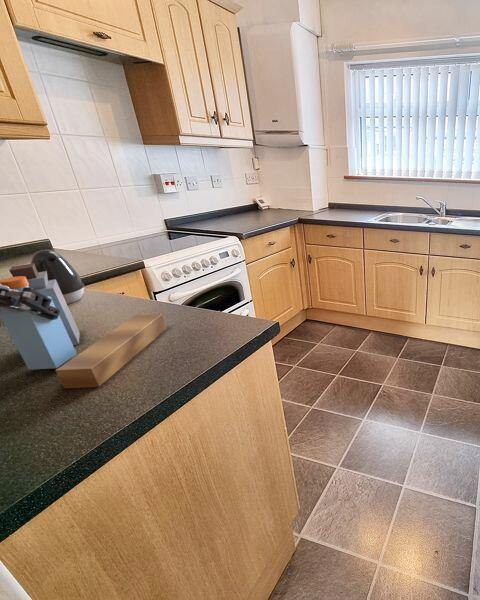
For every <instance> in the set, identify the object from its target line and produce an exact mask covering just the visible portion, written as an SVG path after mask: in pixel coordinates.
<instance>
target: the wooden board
mask: <svg viewBox="0 0 480 600" xmlns="http://www.w3.org/2000/svg"><path fill="white" fill-rule="evenodd" d="M167 329H168V328H167V326H166V323H165V319H164V316H163V314H161V313H160V314H159V313H154V314H152V313H151V314H135V315H134V316H132V317H130V318H129V319H128V320H126V321H125V322H123V323H122V324H120V325H119V326H117V327H116V328H115V329H113V330H112V331H110V332H109V333H107V334H106V335H104V336H103V337H102V338H100V339H99V340H97V341H96V342H94V343H93V344H91V345H90V346H88V347H87V348H85V349H84V350H83V351H81V352H80V353H78V354H77V355H75V356H74V357H72V358H71V359H69V360H68V361H66V362H65V363H63V364H62V365H60V366H59V367H58V368H56V369H55V373H56V375H57V376H58V379H59V381H60V383H61V385H62V386H63V388H64V389H81V388H100V387H102V385H103V384H105V382H107V381H108V380H109V379H110V378H111V377H112V376H114V375H115V374H116V373H117V372H118V371H119V370H120V369H122V368H123V367H124V366H125V365H126V364H128V363H130V361H131V360H132V359H133V358H135V357H136V356H137V355H138V354H139V353H140V352H141V351H143V350H144V349H145V348H146V347H148V345H150V344H151V343H152V342H153V341H154V340H155V339H157V338H158V337H159V336H160V335H161V334H163V333H164V332H165V331H166V330H167Z"/></svg>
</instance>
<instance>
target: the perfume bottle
mask: <svg viewBox="0 0 480 600" xmlns="http://www.w3.org/2000/svg"><path fill="white" fill-rule="evenodd" d="M8 271H9V273H10V274H11V276H10V277H9V278H11V277H17V276H25V277H26V279H27V281H28V283H29V285H28V286H29V288H32V289H34V290H36V291H38V292H39V293H41V294H43V295H45V296H47V297H49V296H50V297H51V299H52V301H53V303H54V305H55V307H56V308H58V309H59V310H60V313H59V316H60V318H61V320H62V323H63V325H64V327H65V329H66V331H67V334H68V336H69V338H70V340H71V342H72V344H73V346H77V345H80V335H81V332H80V330H79V328H78V326H77V323H76V322H75V319H74V317H73V315H72V312H71V310H70V308H69V306H68V304H66V301H65V299H64V297H63V295H62V292H61V290H60V288H59V286H58V284H57V281H56V279H55V280H49V281H48V278H47V271H44V272H37V270H36V267H35V264H34V263H33V264H31V263H29V264H28V263H27V264H21V265H13V266H11V267H10V269H9V270H8Z"/></svg>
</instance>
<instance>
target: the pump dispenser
mask: <svg viewBox="0 0 480 600" xmlns="http://www.w3.org/2000/svg"><path fill="white" fill-rule="evenodd" d="M33 263H34V264H35V267H36V270H37V272H44V271H47V278H48V281H49V280H55V279H56V281H57V284H58V286H59V288H60V290H61V292H62V295H63V297H64V299H65V301H66V304H67V305H69V304H72V303H75V302H77V301H78V300H80V299H81V298H82V297H83V296H84V293H85V283H84V280H83V278H81V276H80V275H79V273H78V272H77V271H76V269H75V267H73V265H71V263H70V262H69V261H68V260H67V259H66V258H65V257H63V256H62V255H61V254H59V253H58V252H56V251H54V250H52V249H41V250H38V251H36V252H35V253H34V254H33V255H32V257H31V260H30V264H33Z"/></svg>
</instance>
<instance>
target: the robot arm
mask: <svg viewBox="0 0 480 600" xmlns="http://www.w3.org/2000/svg"><path fill="white" fill-rule="evenodd" d="M16 299H19V300H18V303H17V305H16V307H12V306H13V305H14V304H15V302H16ZM51 301H52V299H50V298H48V297H47V296H45V295H43V294H41V293H39V292H38V291H36V290H34V289H32V288H29V287H24V288H23V290H22V292H20V291H16V290H13V289H10V288H9V287H7V286H3V285H1V284H0V309H2V310H7V311H11V312H16V313H19V312H23V311H24V312H28V313H33V314H36V315H39V316H42V317H45V318H48V319H51V320H56V319H58V316H59V313H60V310H59V309H58V308H55V307H53V306H50V303H51ZM26 305H27V306H29V307H31V308H32V309H31V308H27V307H26Z"/></svg>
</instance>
